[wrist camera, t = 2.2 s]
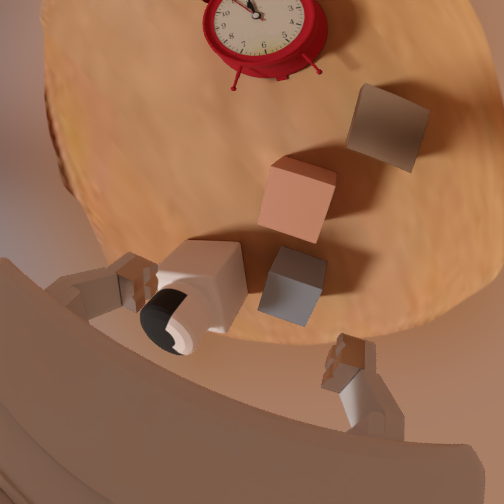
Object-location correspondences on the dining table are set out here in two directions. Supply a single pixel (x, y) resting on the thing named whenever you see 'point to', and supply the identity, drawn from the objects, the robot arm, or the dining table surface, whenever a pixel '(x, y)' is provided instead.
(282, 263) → the slate-grey block
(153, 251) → the dining table surface
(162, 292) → the medicine bottle
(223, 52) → the alarm clock
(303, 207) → the terracotta block
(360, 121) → the walnut block
